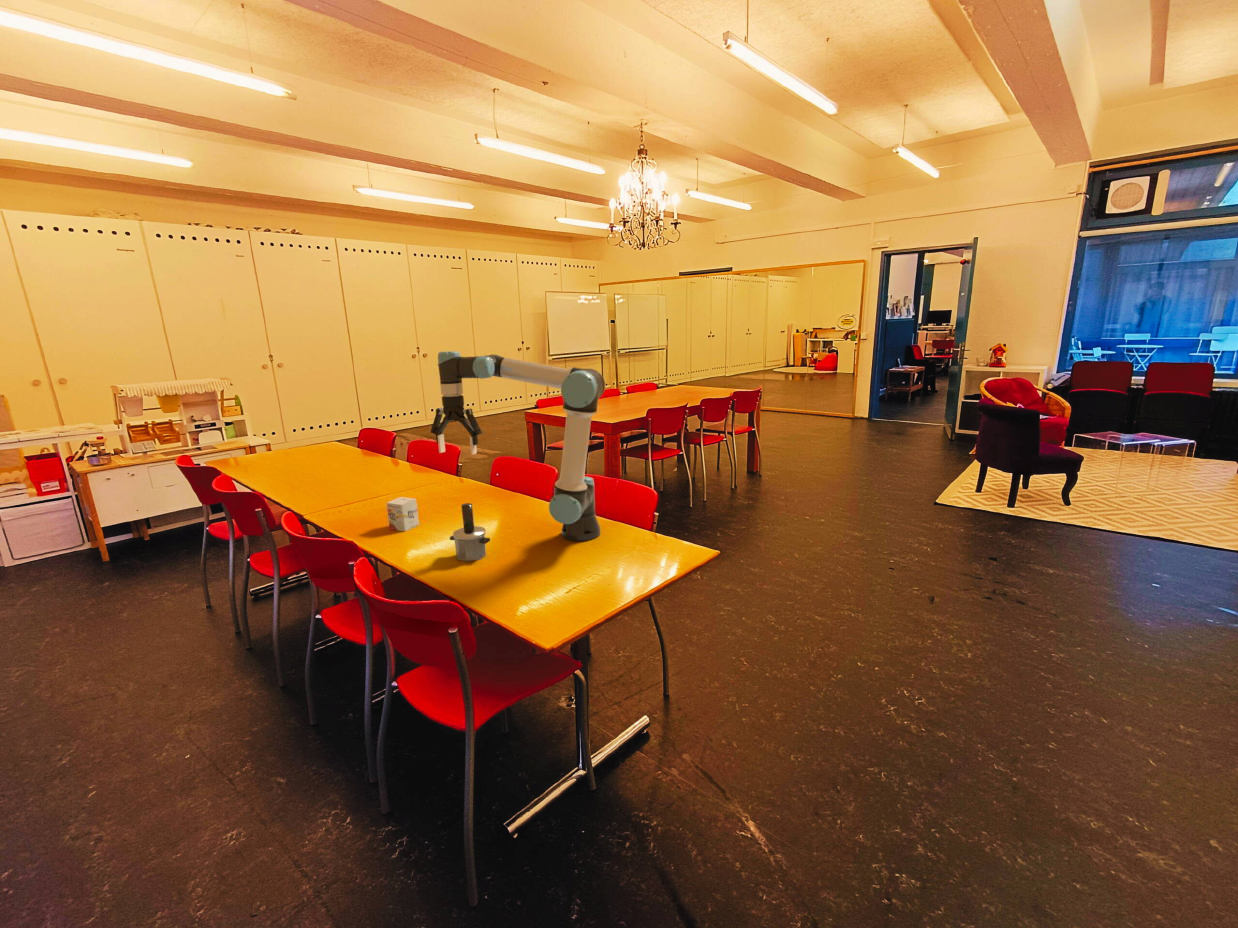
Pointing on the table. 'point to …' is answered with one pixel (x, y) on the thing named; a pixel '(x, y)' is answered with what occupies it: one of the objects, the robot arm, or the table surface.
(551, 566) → the table surface
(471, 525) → the lid
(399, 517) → the ink box
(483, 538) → the pot
